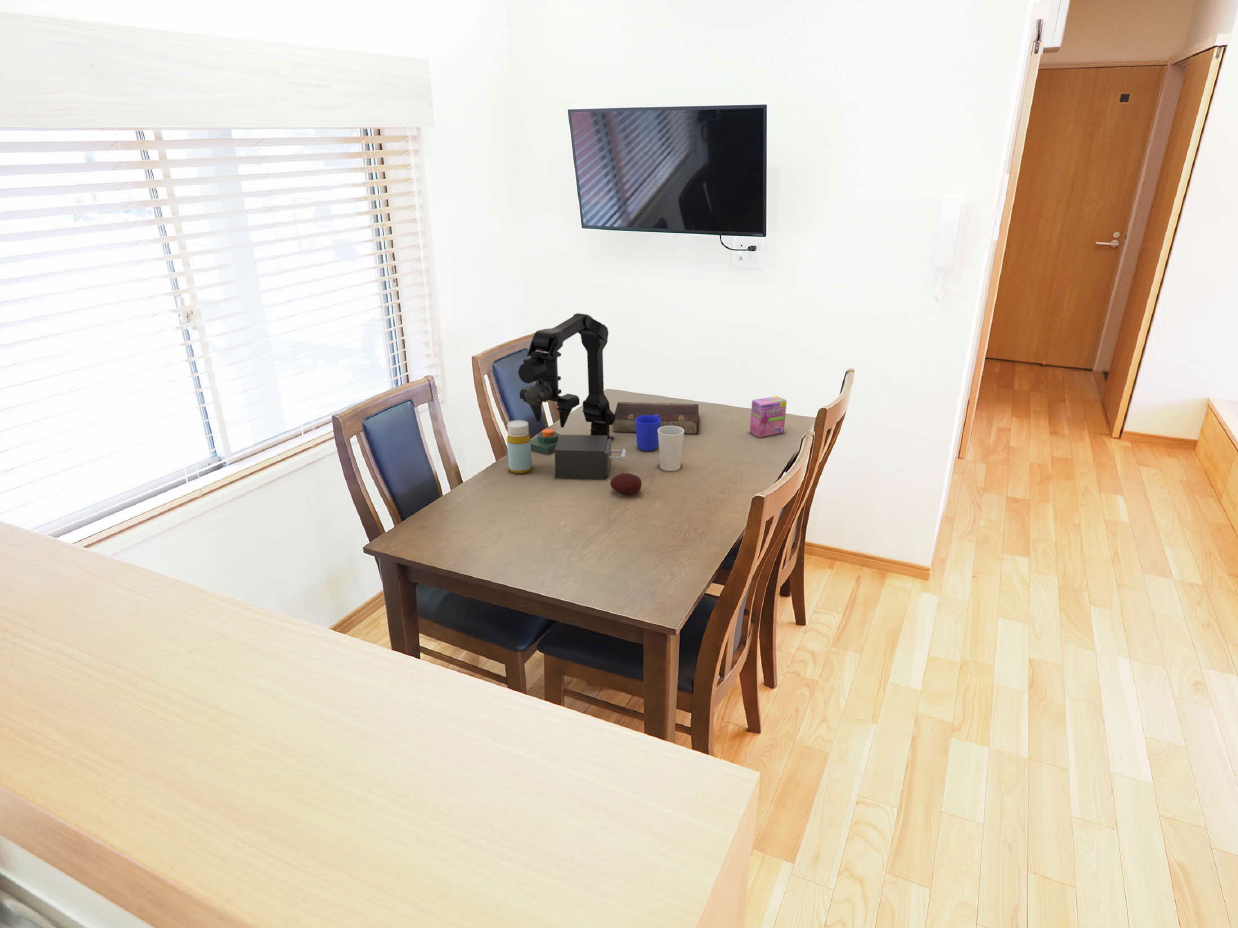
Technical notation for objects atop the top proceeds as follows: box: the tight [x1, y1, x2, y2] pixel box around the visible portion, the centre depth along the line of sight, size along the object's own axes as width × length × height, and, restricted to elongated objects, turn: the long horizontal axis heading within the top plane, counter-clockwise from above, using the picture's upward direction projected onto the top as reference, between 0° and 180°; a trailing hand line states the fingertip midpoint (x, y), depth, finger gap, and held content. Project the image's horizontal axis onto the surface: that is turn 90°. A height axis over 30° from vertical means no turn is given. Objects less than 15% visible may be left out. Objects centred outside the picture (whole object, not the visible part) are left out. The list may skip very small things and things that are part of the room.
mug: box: [635, 415, 661, 452], centre depth 255 cm, size 8×12×10 cm
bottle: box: [506, 419, 533, 475], centre depth 237 cm, size 7×7×15 cm
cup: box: [658, 426, 685, 472], centre depth 239 cm, size 8×8×12 cm
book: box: [612, 401, 700, 434], centre depth 275 cm, size 29×19×5 cm, turn 85°
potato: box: [610, 472, 643, 495], centre depth 223 cm, size 8×9×6 cm
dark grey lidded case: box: [553, 434, 607, 480], centre depth 237 cm, size 15×13×9 cm
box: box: [749, 395, 788, 438], centre depth 265 cm, size 10×6×12 cm, turn 114°
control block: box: [530, 430, 562, 455], centre depth 257 cm, size 12×9×4 cm
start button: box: [541, 428, 555, 437], centre depth 256 cm, size 4×4×2 cm
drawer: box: [604, 439, 627, 477], centre depth 237 cm, size 18×11×7 cm, turn 86°
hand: (550, 424), depth 235 cm, fingers open, 9 cm apart
